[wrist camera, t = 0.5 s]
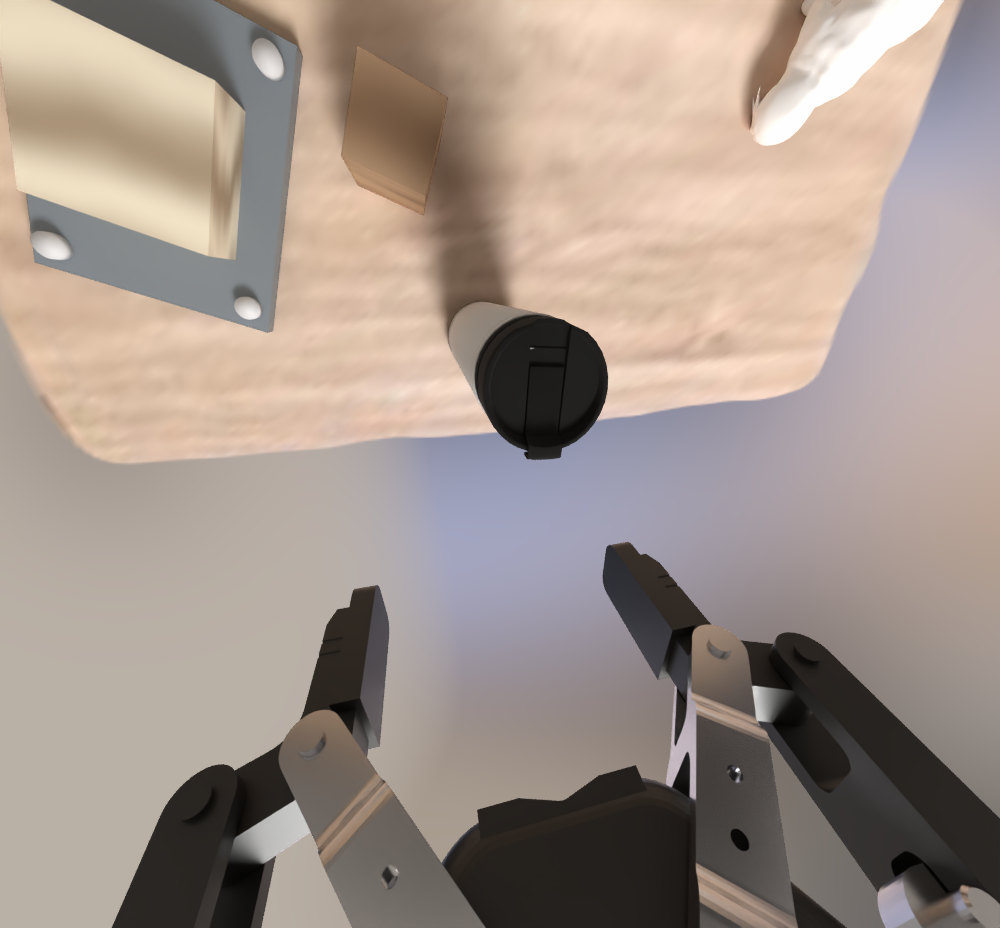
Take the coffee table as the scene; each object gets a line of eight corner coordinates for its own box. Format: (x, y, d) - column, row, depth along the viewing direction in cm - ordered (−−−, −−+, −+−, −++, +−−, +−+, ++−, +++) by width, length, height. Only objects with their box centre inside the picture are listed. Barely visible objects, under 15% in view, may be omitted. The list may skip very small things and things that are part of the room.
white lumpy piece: (1017, -51, 22) (839, 154, 26) (872, 24, 29) (751, 175, 33) (992, -171, 19) (799, 79, 23) (839, -56, 26) (713, 119, 31)
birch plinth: (63, 25, 20) (-11, -30, 17) (245, 111, 23) (215, 80, 20) (77, 204, 23) (17, 190, 20) (235, 260, 26) (208, 256, 23)
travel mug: (448, 374, 34) (481, 465, 17) (447, 299, 32) (486, 315, 14) (510, 375, 36) (602, 459, 18) (515, 303, 33) (629, 321, 15)
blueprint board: (11, -101, 19) (-30, -141, 17) (302, 56, 23) (293, 38, 22) (50, 263, 25) (23, 261, 23) (272, 331, 30) (264, 333, 28)
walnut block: (371, 104, 25) (357, 45, 19) (440, 141, 27) (447, 97, 21) (358, 185, 27) (340, 155, 21) (423, 215, 29) (425, 195, 22)
